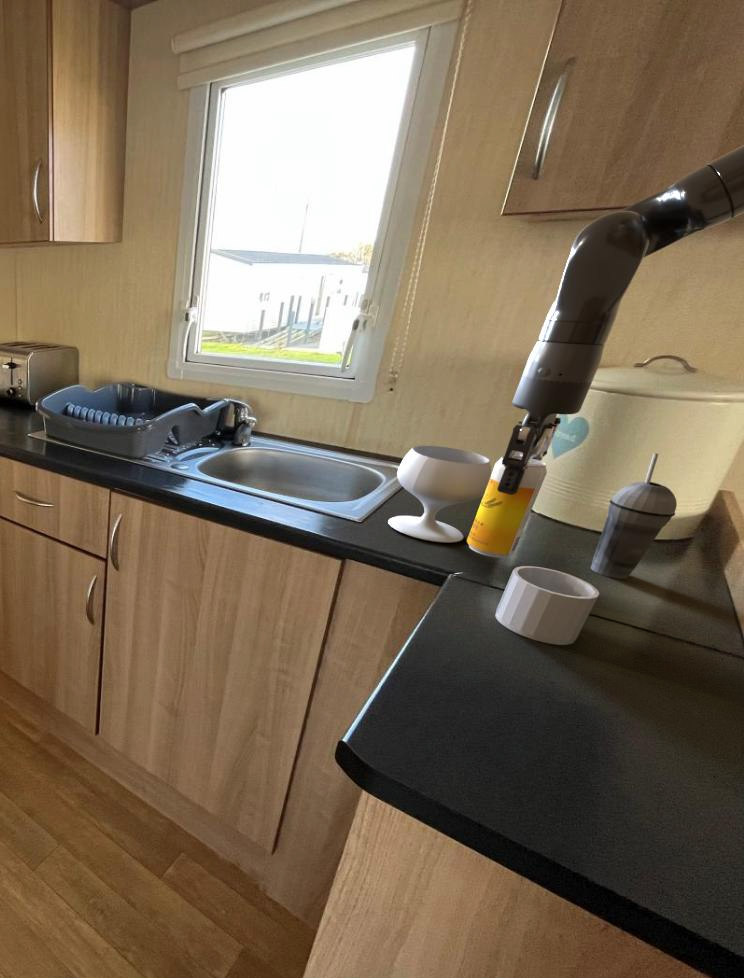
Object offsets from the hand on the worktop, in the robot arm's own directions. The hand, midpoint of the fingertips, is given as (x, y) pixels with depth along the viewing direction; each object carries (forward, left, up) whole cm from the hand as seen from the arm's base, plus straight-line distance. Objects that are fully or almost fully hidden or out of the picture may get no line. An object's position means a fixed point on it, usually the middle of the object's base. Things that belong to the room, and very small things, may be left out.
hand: (512, 488), depth 83 cm
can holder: (-10, +13, -14) cm, 22 cm away
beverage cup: (-13, -18, -15) cm, 27 cm away
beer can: (0, 0, -11) cm, 11 cm away
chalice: (+12, -11, -15) cm, 22 cm away
